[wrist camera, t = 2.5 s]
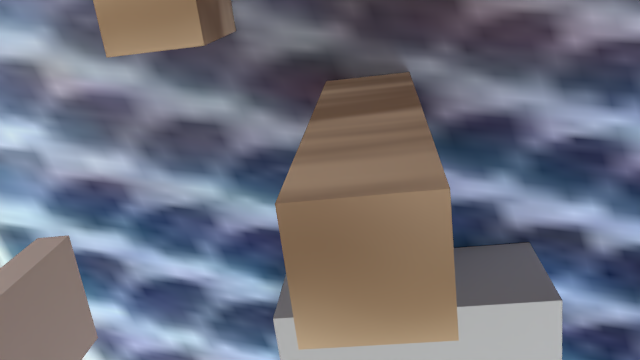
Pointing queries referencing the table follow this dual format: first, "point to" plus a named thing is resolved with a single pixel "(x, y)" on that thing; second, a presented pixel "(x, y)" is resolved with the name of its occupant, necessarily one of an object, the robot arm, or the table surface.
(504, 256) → the socket block
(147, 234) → the table surface
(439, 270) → the long peg
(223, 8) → the short peg
